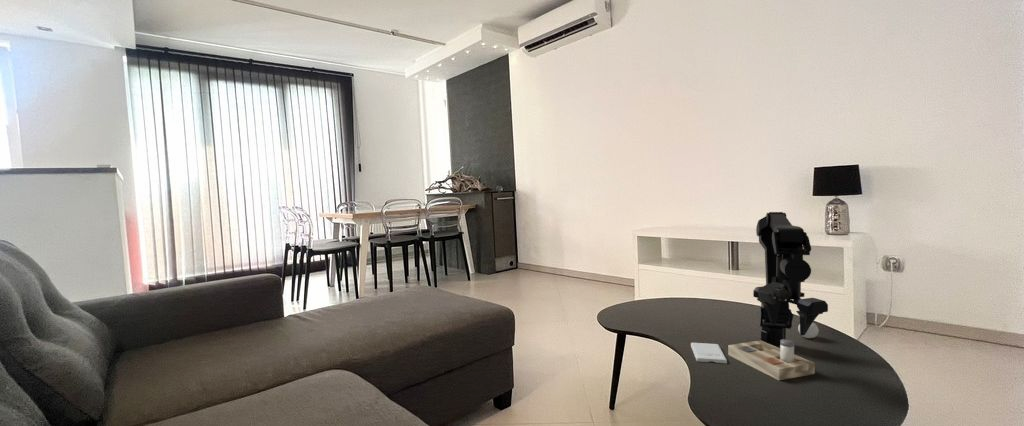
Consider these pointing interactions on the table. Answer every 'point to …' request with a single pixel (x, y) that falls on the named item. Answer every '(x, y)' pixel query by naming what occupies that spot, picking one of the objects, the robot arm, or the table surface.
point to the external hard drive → (708, 353)
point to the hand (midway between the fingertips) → (787, 329)
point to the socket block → (770, 360)
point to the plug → (787, 350)
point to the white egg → (810, 331)
